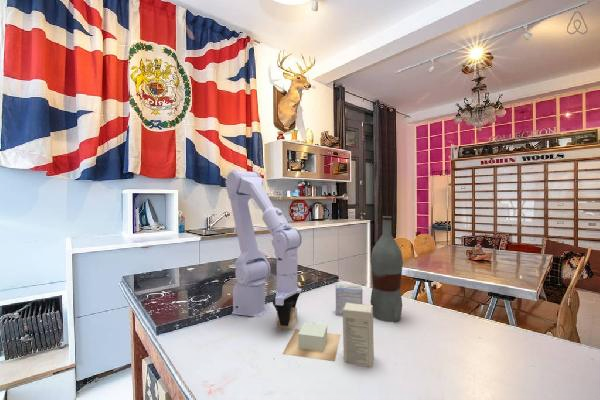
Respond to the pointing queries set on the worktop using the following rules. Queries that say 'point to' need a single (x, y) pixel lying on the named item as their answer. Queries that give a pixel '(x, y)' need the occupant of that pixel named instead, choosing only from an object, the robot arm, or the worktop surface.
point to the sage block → (312, 337)
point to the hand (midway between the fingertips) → (287, 321)
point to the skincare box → (358, 334)
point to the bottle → (386, 276)
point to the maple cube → (291, 322)
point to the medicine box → (347, 296)
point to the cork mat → (327, 354)
